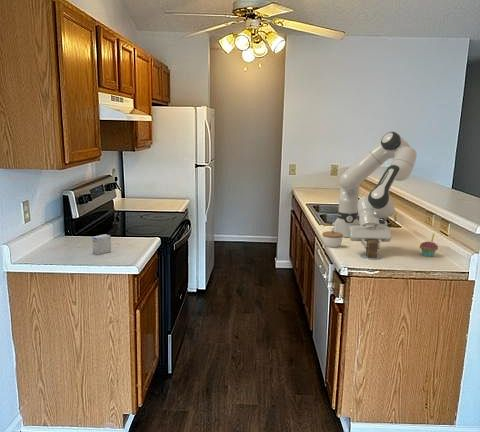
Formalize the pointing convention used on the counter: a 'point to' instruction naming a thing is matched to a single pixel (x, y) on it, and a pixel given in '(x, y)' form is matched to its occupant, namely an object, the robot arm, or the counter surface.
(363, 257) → the slate saucer
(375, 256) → the brown rectangular block
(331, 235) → the lidded jar
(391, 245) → the counter surface
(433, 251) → the cupcake
